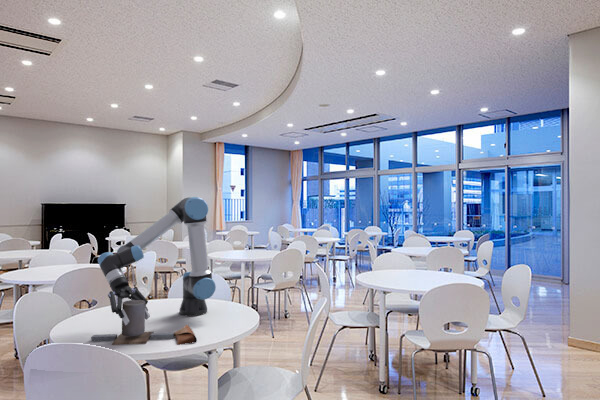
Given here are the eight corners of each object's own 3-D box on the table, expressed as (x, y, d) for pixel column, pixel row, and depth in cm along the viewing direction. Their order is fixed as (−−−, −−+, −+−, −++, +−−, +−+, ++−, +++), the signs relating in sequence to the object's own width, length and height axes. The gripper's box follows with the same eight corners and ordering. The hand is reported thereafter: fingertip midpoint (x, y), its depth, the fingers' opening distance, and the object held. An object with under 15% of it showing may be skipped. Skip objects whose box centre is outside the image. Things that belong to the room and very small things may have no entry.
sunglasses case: (171, 333, 189) (178, 320, 190) (184, 339, 191) (191, 326, 193) (177, 345, 172) (185, 330, 174) (191, 351, 175) (199, 337, 177)
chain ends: (174, 336, 184) (174, 332, 184) (173, 338, 181) (173, 334, 181) (93, 339, 180) (93, 334, 180) (91, 341, 177) (91, 337, 177)
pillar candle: (116, 334, 178) (117, 300, 178) (132, 328, 187) (133, 296, 187) (133, 337, 174) (134, 302, 175) (149, 331, 184) (150, 298, 184)
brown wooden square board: (153, 333, 188) (153, 331, 188) (145, 343, 174) (145, 341, 174) (122, 334, 187) (122, 332, 187) (111, 344, 173) (111, 342, 173)
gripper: (135, 282, 199) (155, 319, 190) (90, 290, 180) (110, 331, 171) (141, 272, 196) (162, 310, 187) (97, 279, 177) (118, 321, 168)
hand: (138, 320), depth 179 cm, fingers closed on pillar candle, 9 cm apart
